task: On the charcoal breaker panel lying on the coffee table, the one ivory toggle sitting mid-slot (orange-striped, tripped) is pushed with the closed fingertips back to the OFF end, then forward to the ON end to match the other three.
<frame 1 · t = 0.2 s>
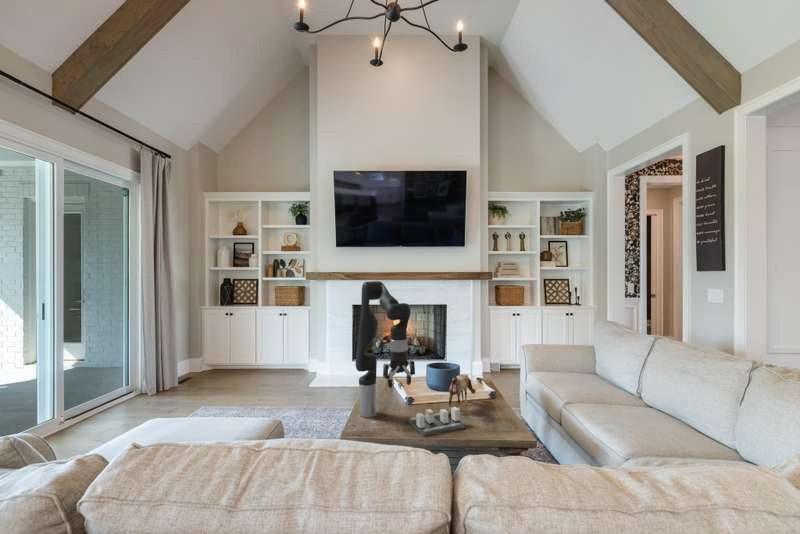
hand: (399, 385, 177), 29 cm above the table, fingers open, 8 cm apart
breaker 2: (429, 416, 203), point 5 cm above the table, slide at 0.0 cm
breaker 3: (444, 416, 203), point 5 cm above the table, slide at 3.0 cm
breaker 4: (455, 414, 205), point 5 cm above the table, slide at 3.0 cm
breaker 1: (420, 420, 198), point 5 cm above the table, slide at 3.0 cm
panel: (435, 425, 205), on the table
horse figurine: (465, 408, 226), on the table
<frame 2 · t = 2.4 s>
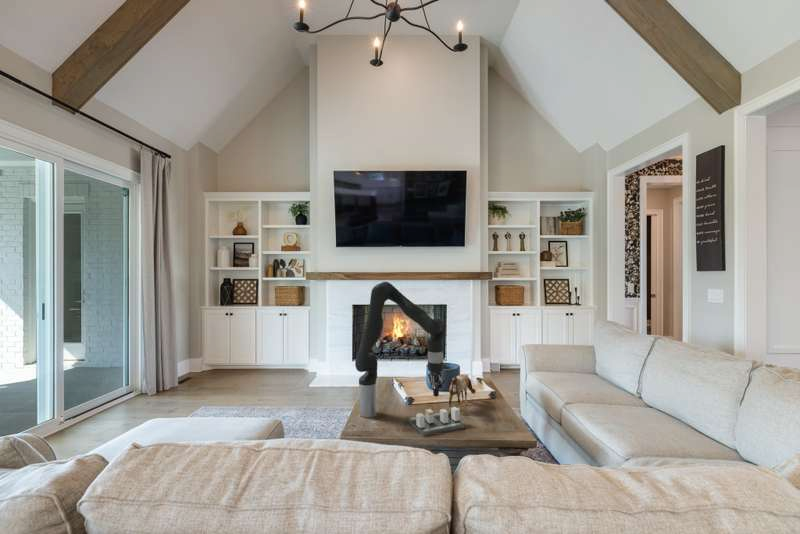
hand: (436, 396, 196), 18 cm above the table, fingers closed
nothing on the table moved.
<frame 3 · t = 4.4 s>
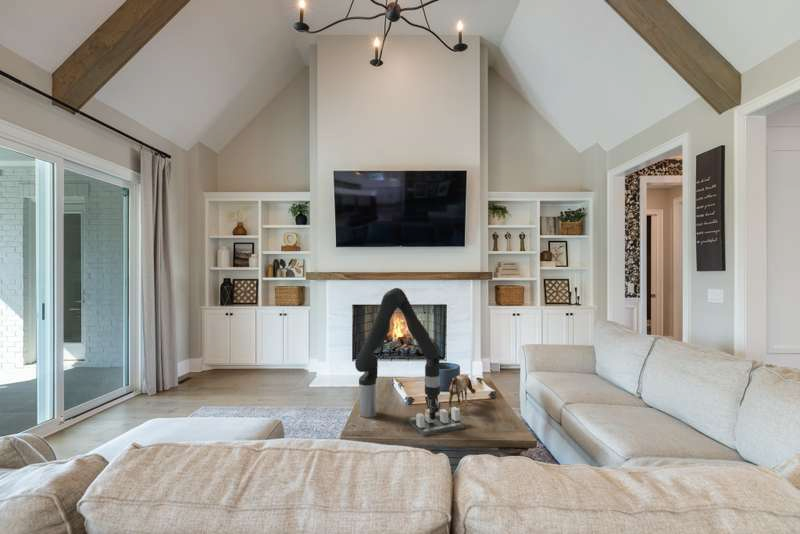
hand: (432, 419, 199), 5 cm above the table, fingers closed
breaker 2: (429, 415, 203), point 5 cm above the table, slide at -0.3 cm, touching gripper
everything else where it was.
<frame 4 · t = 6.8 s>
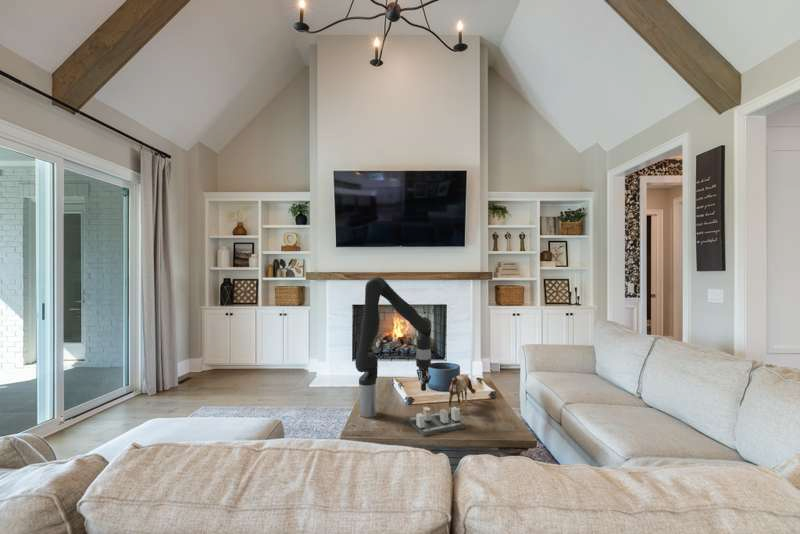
hand: (423, 390, 208), 16 cm above the table, fingers closed
breaker 2: (427, 413, 206), point 5 cm above the table, slide at -3.1 cm
everything else where it was.
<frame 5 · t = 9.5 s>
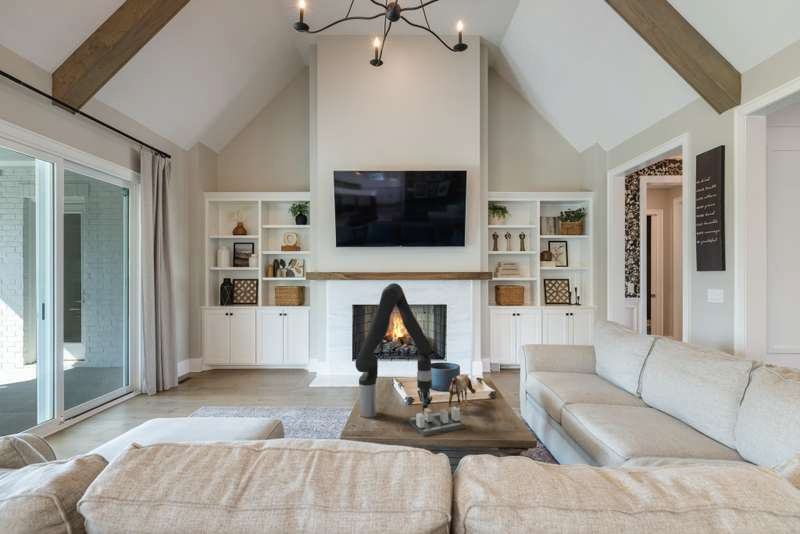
hand: (425, 411, 208), 5 cm above the table, fingers closed
breaker 2: (428, 414, 205), point 5 cm above the table, slide at -1.6 cm, touching gripper
everything else where it was.
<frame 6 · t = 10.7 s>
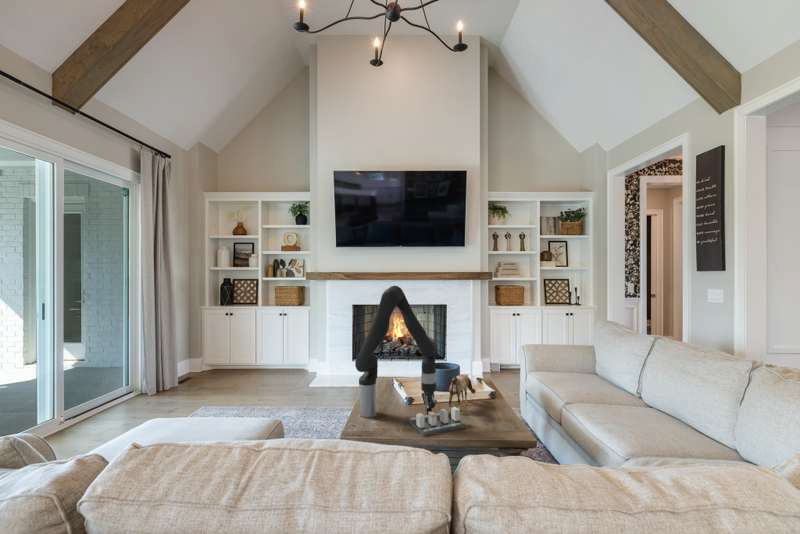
hand: (429, 414, 204), 5 cm above the table, fingers closed
breaker 2: (432, 418, 200), point 5 cm above the table, slide at 3.1 cm, touching gripper
everything else where it was.
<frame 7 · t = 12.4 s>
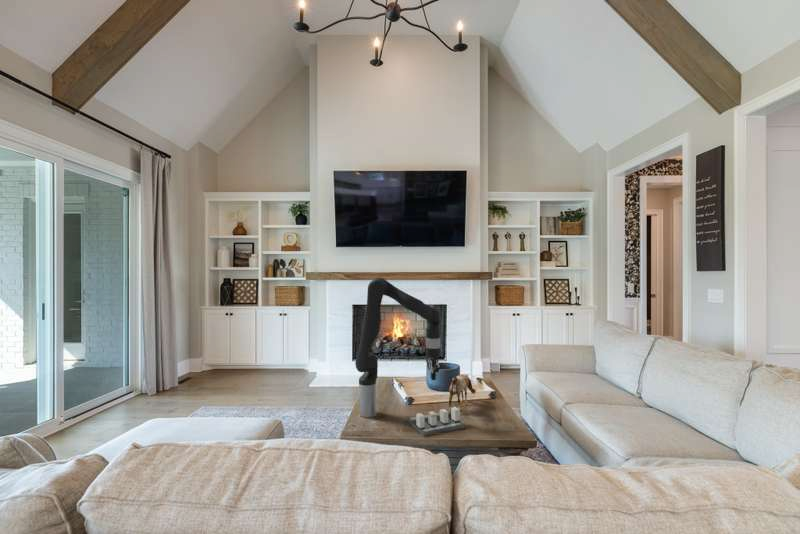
hand: (433, 379, 208), 22 cm above the table, fingers closed
breaker 2: (432, 418, 200), point 5 cm above the table, slide at 3.0 cm
everything else where it was.
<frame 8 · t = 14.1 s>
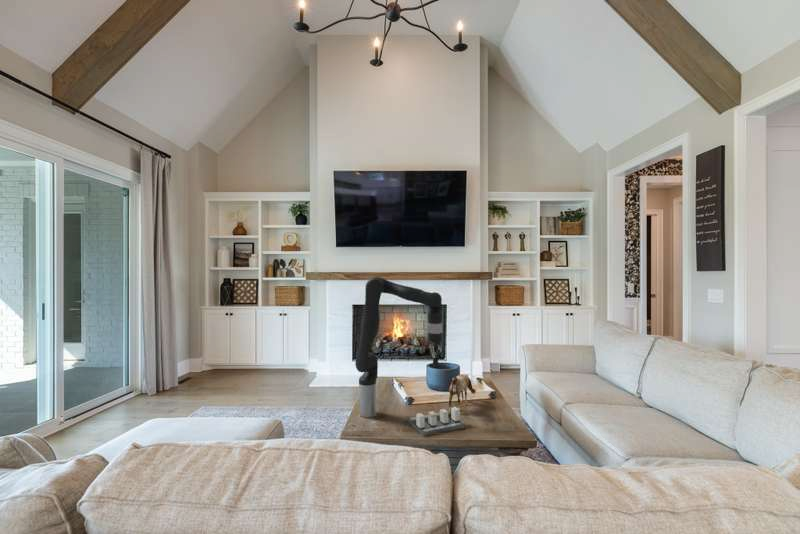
hand: (435, 364, 209), 29 cm above the table, fingers closed
nothing on the table moved.
at the end: breaker 2 slide at 3.0 cm; breaker 3 slide at 3.0 cm; breaker 1 slide at 3.0 cm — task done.
